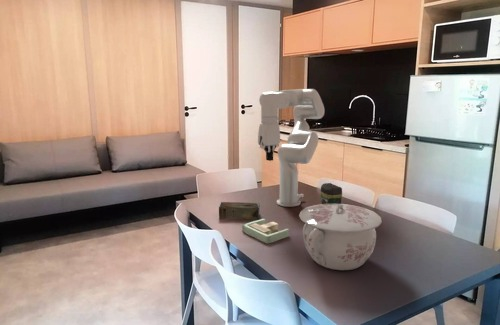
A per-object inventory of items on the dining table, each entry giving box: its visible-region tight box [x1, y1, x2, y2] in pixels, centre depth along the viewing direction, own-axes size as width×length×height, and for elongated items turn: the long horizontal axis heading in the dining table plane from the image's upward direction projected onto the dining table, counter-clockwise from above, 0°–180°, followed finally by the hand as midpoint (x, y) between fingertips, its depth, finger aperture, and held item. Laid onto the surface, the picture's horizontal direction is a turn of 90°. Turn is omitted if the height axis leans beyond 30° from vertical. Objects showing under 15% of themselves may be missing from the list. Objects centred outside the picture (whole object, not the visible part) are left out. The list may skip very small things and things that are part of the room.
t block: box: [249, 221, 279, 235], centre depth 152 cm, size 10×10×4 cm
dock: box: [241, 218, 290, 244], centre depth 152 cm, size 12×16×3 cm
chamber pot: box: [298, 203, 383, 271], centre depth 125 cm, size 28×28×21 cm
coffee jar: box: [320, 182, 343, 204], centre depth 159 cm, size 10×8×19 cm
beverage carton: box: [218, 201, 261, 220], centre depth 172 cm, size 8×19×7 cm, turn 87°
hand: (269, 160), depth 168 cm, fingers closed
